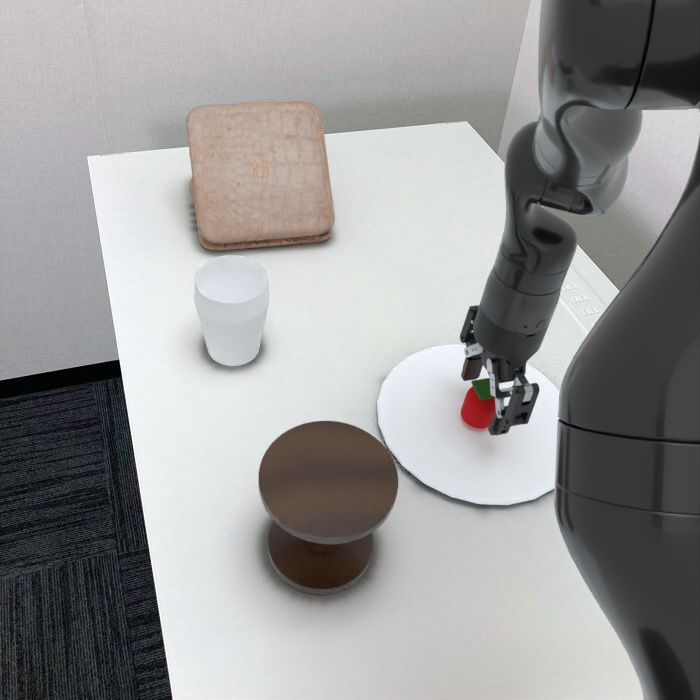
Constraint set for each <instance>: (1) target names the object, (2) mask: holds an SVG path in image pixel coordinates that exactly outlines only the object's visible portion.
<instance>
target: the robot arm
mask: <svg viewBox="0 0 700 700" xmlns="http://www.w3.org/2000/svg"><path fill="white" fill-rule="evenodd" d="M539 14H540V15H539V28H538V29H539V31H538V47H537V48H538V51H537V52H538V55H537V60H538V61H537V74H538V75H537V76H538V77H537V83H538V84H537V86H538V100H539V107H540V113H539V116H538V119H537V120H534V121H530V122H528V123H526V124H525V125H523V126H522V127H521V128H520V129H518V130H517V132H515V134H514V135H513V136H512V138H511V140H510V141H509V144H508V147H507V149H506V153H505V158H504V173H503V175H504V176H503V177H504V193H505V222H504V228H503V233H502V235H501V236H502V238H501V241H500V244H499V246H498V250H497V253H496V257H495V260H494V263H493V265H492V269H491V270H490V272H489V274H488V276H487V279H486V282H485V285H484V289H483V292H482V295H481V298H480V303H479V304H475V305H470V306H469V307H468V311H467V313H466V316H465V319H464V323H463V325H462V329H461V330H460V334H459V339H460V340H459V341H460V343H461V344H464V345H466V348H465V349H464V353H465V356H466V358H465V362H464V365H463V370H462V373H461V377H462V379H463V380H464V381H468V380H475V379H477V378H479V376H480V373H481V370H482V367H483V366H484V367H485V369H486V370H487V372H488V374H489V377H490V392H491V396H493V397H494V398H495V407H496V411H494V414H493V417H492V420H491V422H490V425H489V428H488V431H489V433H490V435H495V436H496V435H502V434H507V433H508V432H509V429H510V427H512V426H516V425H521V424H523V425H524V424H528V422H529V419H530V416H531V414H532V411H533V408H534V405H535V403H536V400H537V397H538V394H539V385H538V384H537V383H531V384H530V383H529V382H528V380H527V379H526V377H525V373H526V363H527V362H528V361H529V360H530V359H531V358H532V357H533V356H534V355H535V354H536V353H537V352H538V351H539V350H540V349H541V346H542V343H543V341H544V338H545V336H546V334H547V331H548V329H549V326H550V324H551V321H552V319H553V316H554V313H555V312H556V309H557V307H558V304H559V301H560V296H561V291H562V287H563V284H564V282H565V279H566V276H567V274H568V271H569V268H570V266H571V264H572V262H573V259H574V257H575V254H576V251H577V248H578V240H579V239H578V234H577V231H576V229H575V228H574V226H572V225H571V223H570V222H568V221H567V220H566V219H564V218H563V217H561V216H560V215H558V214H556V213H554V212H552V211H550V210H549V209H548V208H550V209H554V210H557V211H562V212H565V213H568V214H572V215H576V216H582V217H598V216H601V215H604V214H606V213H607V212H609V211H610V210H611V209H612V208H613V207H614V206H615V205H616V203H617V202H618V201H619V199H620V197H621V195H622V193H623V191H624V189H625V185H626V182H627V178H628V173H629V155H630V154H631V152H632V150H634V147H635V145H636V144H637V141H638V140H639V136H640V134H641V131H642V124H643V117H644V116H643V111H680V110H681V111H683V110H684V111H685V110H687V111H688V110H699V112H700V0H541V2H540V11H539ZM545 207H546V208H545ZM527 364H528V363H527ZM511 381H514V384H513V386H512V387H510V388H504V389H499V383H505V382H511ZM559 391H560V394H559V408H558V417H559V418H560V419H559V420H558V425H557V446H556V467H555V489H553V493H554V495H553V499H554V500H553V501H554V502H553V503H554V513H555V518H556V521H557V525H558V528H559V531H560V534H561V537H562V539H563V542H564V545H565V546H566V549H567V551H568V554H569V555H570V557H571V559H572V561H573V563H574V565H575V566H576V568H577V571H578V572H579V574H580V576H581V578H582V579H583V581H584V583H585V585H586V587H587V588H588V590H589V592H590V593H591V595H592V597H593V598H594V600H595V602H596V603H597V604H598V606H599V608H600V610H601V611H602V613H603V614H604V616H605V618H606V619H607V621H608V622H609V624H610V626H611V627H612V629H613V631H614V633H615V634H616V635H617V637H618V640H619V641H620V643H621V645H622V647H623V649H624V650H625V652H626V654H627V656H628V658H629V660H630V662H631V665H632V668H633V669H634V671H635V674H636V676H637V679H638V681H639V685H640V688H641V693H642V694H641V695H642V699H643V700H700V133H699V135H698V141H697V147H696V151H695V155H694V159H693V163H692V165H691V170H690V173H689V175H688V178H687V181H686V183H685V187H684V189H683V191H682V193H681V195H680V198H679V200H678V202H677V205H676V206H675V208H674V210H673V212H672V214H671V215H670V217H669V218H668V220H667V222H666V224H665V226H664V227H663V228H662V230H661V232H660V234H659V235H658V236H657V238H656V240H655V242H654V243H653V245H652V247H650V250H649V251H648V252H647V254H646V255H645V257H644V258H643V259H642V261H641V262H640V264H639V265H638V266H637V268H636V270H635V271H634V272H633V273H632V274H631V276H630V277H629V279H628V280H627V281H626V283H624V285H623V286H622V287H621V289H620V290H619V291H618V293H617V294H616V295H615V297H614V298H613V299H612V301H611V302H610V303H609V305H608V306H607V307H606V308H605V310H604V311H603V312H602V314H601V315H600V317H599V318H597V321H596V322H595V323H594V325H593V326H592V327H591V329H590V330H589V332H588V333H587V335H586V336H585V338H584V339H583V341H582V342H581V344H580V345H579V347H578V348H577V350H576V352H575V354H574V355H573V356H572V359H571V360H570V363H569V365H568V367H567V369H566V371H565V374H564V376H563V379H562V381H561V385H560V390H559ZM506 397H510V401H509V404H508V406H504V398H506Z"/></svg>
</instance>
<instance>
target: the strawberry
mask: <svg viewBox="0 0 700 700" xmlns="http://www.w3.org/2000/svg"><path fill="white" fill-rule="evenodd" d="M471 383H472V385H473V386H472V387H471V388H470V389H469V390H468V391H467V393H466V396H465V399H464V402H463V405H462V408H461V417H462V419H463V420H464V422H465V423H467V424H468V425H469V426H471V427H474V428H478V429H483V428H487V427H489V425H490V422H491V420H492V417H493V414H494V411H496V407H495V398H494V397H493V396H491V392H490V378H486V379H479V380H473V381H472V382H471Z"/></svg>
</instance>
